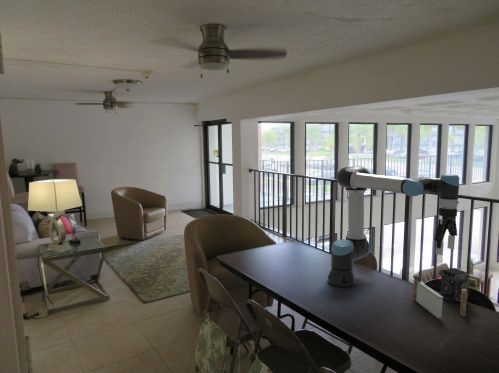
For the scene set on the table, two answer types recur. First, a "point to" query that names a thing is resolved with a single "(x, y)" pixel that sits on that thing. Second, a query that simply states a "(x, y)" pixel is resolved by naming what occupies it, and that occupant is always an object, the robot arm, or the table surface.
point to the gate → (429, 299)
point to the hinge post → (415, 286)
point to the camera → (454, 284)
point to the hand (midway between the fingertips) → (445, 251)
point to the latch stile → (463, 302)
